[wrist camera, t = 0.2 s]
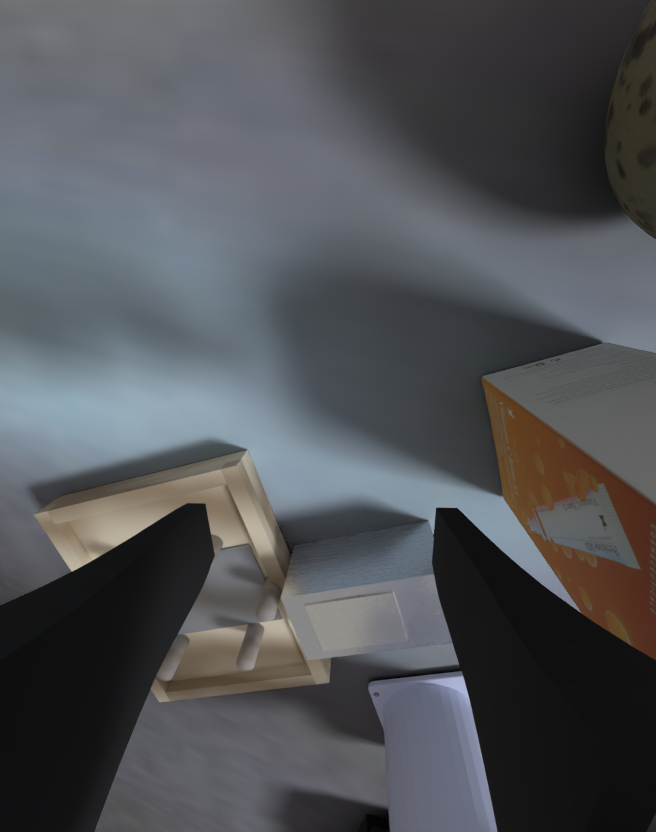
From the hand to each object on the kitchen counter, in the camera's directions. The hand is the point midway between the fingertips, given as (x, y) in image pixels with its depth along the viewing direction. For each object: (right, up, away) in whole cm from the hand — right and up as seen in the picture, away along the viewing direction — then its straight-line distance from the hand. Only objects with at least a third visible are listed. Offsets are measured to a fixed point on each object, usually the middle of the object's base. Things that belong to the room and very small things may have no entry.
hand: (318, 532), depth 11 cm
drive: (+3, -6, +13) cm, 14 cm away
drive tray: (-9, -8, +14) cm, 19 cm away
